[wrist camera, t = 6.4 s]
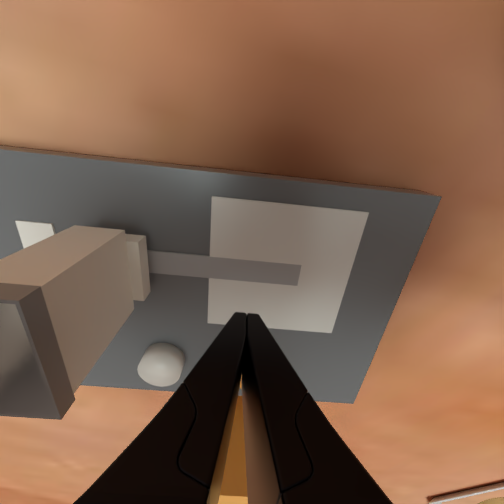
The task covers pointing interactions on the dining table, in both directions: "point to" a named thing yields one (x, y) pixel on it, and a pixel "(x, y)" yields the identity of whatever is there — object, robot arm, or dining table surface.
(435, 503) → the dessert
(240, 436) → the mustard yellow cube
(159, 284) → the breaker panel
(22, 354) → the lever
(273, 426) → the robot arm
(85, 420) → the dining table surface
